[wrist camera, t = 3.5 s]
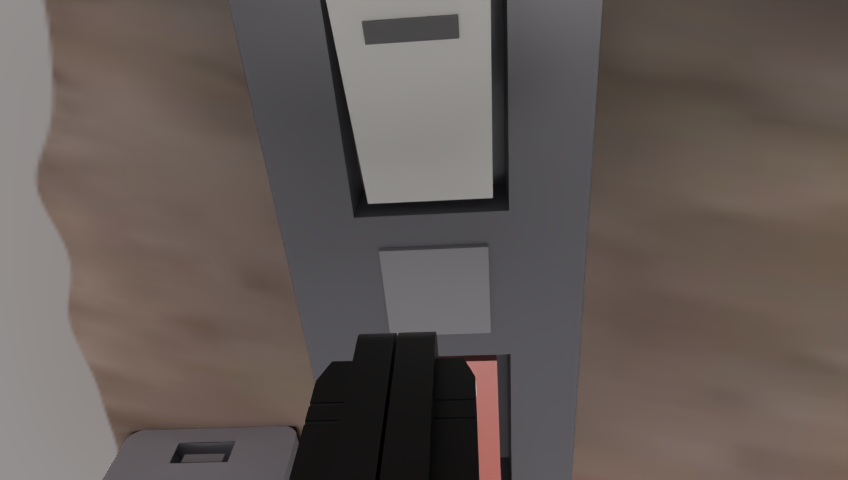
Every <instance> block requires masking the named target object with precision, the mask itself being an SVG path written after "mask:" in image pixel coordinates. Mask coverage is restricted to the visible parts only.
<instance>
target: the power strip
mask: <svg viewBox="0 0 848 480" xmlns="http://www.w3.org/2000/svg"><path fill="white" fill-rule="evenodd" d="M228 1H229V6H230V10H231V14H232V19H233V23H234V28H235V32H236V36H237V41H238V45H239V50H240V54H241V58H242V63H243V67H244V72H245V76H246V81H247V85H248V89H249V94H250V98H251V103H252V107H253V111H254V116H255V120H256V125H257V129H258V133H259V138H260V142H261V147H262V151H263V155H264V160H265V164H266V169H267V173H268V177H269V182H270V186H271V191H272V195H273V199H274V204H275V208H276V213H277V217H278V221H279V226H280V230H281V235H282V239H283V243H284V248H285V252H286V257H287V261H288V265H289V270H290V274H291V279H292V283H293V287H294V292H295V296H296V301H297V305H298V309H299V314H300V318H301V323H302V327H303V331H304V336H305V340H306V345H307V349H308V354H309V358H310V362H311V367H312V371H313V376H314V380H315V383H316V380H317V379H318V378H319V377H320V375H321V374H322V373H323V372H324V371H325V369H326V368H327V367H328V366H329V364H330V363H331V362H332V361H353V356H354V351H355V347H356V342H357V338H358V335H359V334H375V333H397V336H398V334H399V333H404V332H436V334H437V343H438V355H439V356H467V355H496V357H497V380H498V409H499V438H500V467H501V480H571V479H572V463H573V448H574V433H575V417H576V402H577V387H578V371H579V356H580V341H581V325H582V310H583V295H584V280H585V264H586V249H587V234H588V218H589V203H590V188H591V172H592V157H593V142H594V126H595V111H596V96H597V80H598V65H599V50H600V34H601V19H602V4H603V0H491V77H492V163H493V198H483V199H462V200H441V201H420V202H399V203H378V204H368V201H367V196H366V192H365V187H364V182H363V177H362V172H361V167H360V163H359V158H358V153H357V148H356V143H355V139H354V134H353V129H352V124H351V119H350V114H349V110H348V105H347V100H346V95H345V90H344V85H343V81H342V76H341V71H340V66H339V61H338V56H337V52H336V47H335V42H334V37H333V32H332V27H331V23H330V18H329V13H328V8H327V3H326V0H228Z"/></svg>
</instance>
